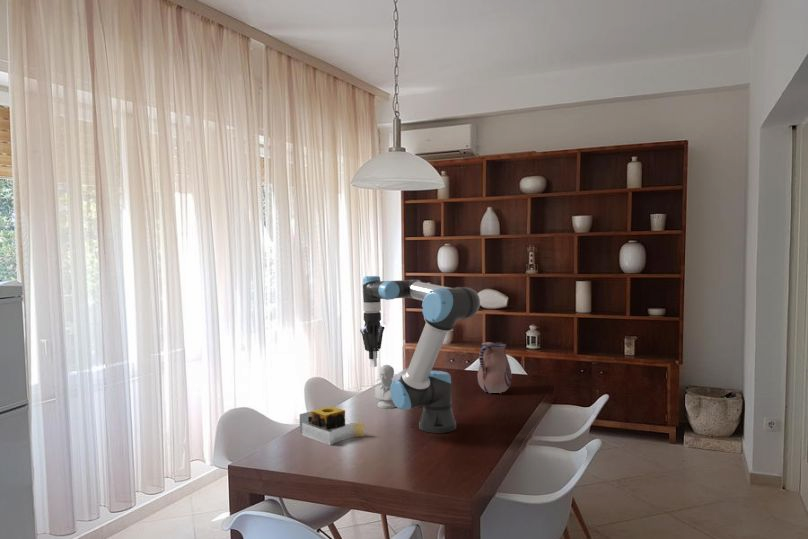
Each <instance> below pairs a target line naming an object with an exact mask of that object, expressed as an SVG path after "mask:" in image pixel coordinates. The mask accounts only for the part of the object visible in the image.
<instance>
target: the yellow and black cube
mask: <svg viewBox="0 0 808 539" xmlns="http://www.w3.org/2000/svg"><path fill="white" fill-rule="evenodd" d="M310 412H311V423H312V424H313V425H316V426H319V427H322V428H325V429H328V430H329V429H333V428H336V427H340V426H343V425H346V410H345V409H341V408H338V407H334V406H331V405H330V406H326V407H321V408H317V409H314V410H310Z"/></svg>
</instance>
